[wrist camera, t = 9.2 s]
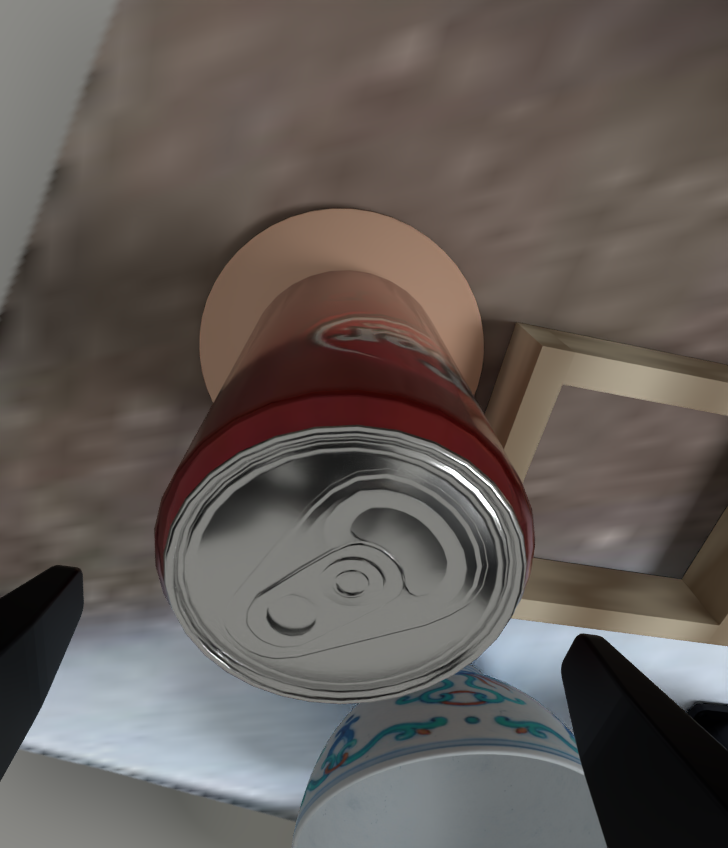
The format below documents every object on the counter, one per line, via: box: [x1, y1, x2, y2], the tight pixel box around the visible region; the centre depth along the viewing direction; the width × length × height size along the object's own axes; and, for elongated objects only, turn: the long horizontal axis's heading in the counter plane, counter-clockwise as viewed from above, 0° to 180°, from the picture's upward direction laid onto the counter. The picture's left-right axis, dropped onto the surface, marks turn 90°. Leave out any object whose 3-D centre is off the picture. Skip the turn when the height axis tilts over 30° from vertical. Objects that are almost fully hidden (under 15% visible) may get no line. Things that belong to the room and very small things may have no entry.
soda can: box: [154, 270, 535, 704], centre depth 15 cm, size 7×7×12 cm
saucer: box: [200, 208, 484, 403], centre depth 20 cm, size 11×11×1 cm
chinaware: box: [292, 665, 607, 848], centre depth 27 cm, size 15×15×8 cm
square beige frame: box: [485, 322, 728, 646], centre depth 22 cm, size 14×12×3 cm
